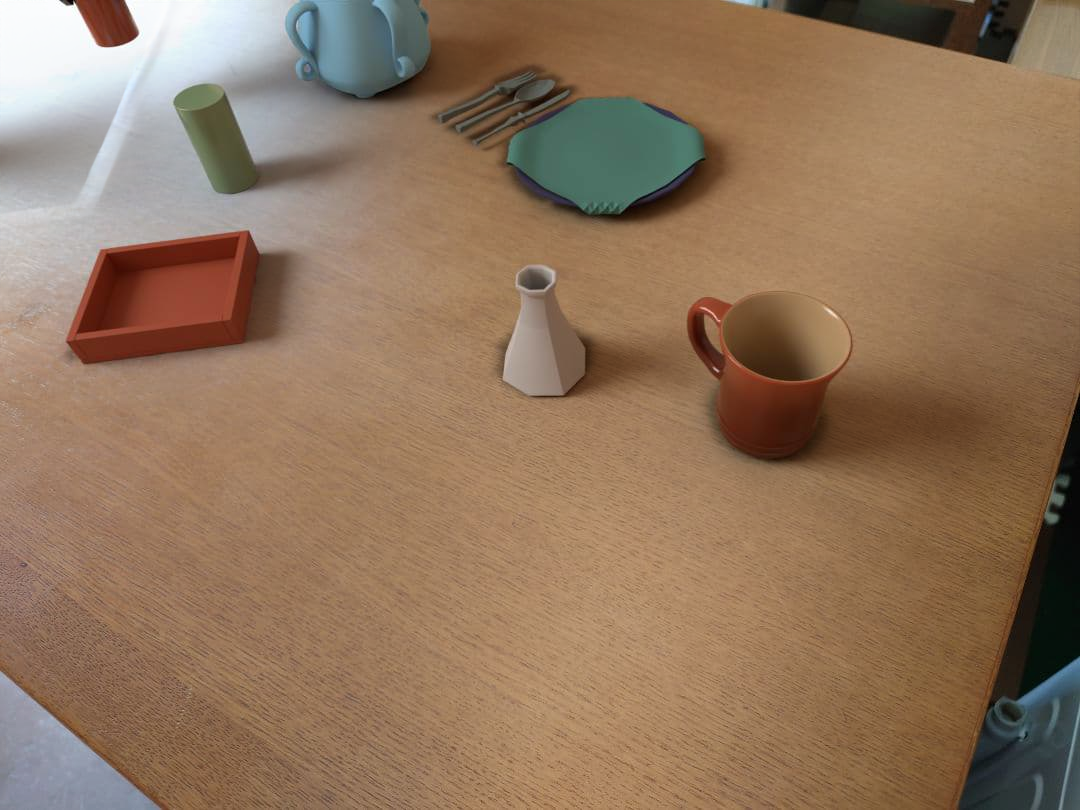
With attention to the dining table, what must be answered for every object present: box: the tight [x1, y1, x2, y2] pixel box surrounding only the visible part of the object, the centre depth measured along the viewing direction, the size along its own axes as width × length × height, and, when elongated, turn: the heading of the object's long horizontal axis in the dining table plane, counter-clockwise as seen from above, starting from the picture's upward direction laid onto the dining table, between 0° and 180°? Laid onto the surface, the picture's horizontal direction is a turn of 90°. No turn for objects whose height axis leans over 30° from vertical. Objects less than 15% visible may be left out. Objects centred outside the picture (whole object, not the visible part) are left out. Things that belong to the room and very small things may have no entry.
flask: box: [502, 264, 586, 397], centre depth 62 cm, size 7×7×10 cm
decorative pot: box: [284, 0, 432, 99], centre depth 95 cm, size 16×16×14 cm
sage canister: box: [172, 82, 259, 195], centre depth 83 cm, size 5×5×10 cm
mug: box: [686, 290, 854, 460], centre depth 57 cm, size 12×9×10 cm
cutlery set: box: [437, 70, 707, 216], centre depth 85 cm, size 20×30×2 cm, turn 41°
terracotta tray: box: [65, 229, 260, 365], centre depth 73 cm, size 15×13×3 cm
